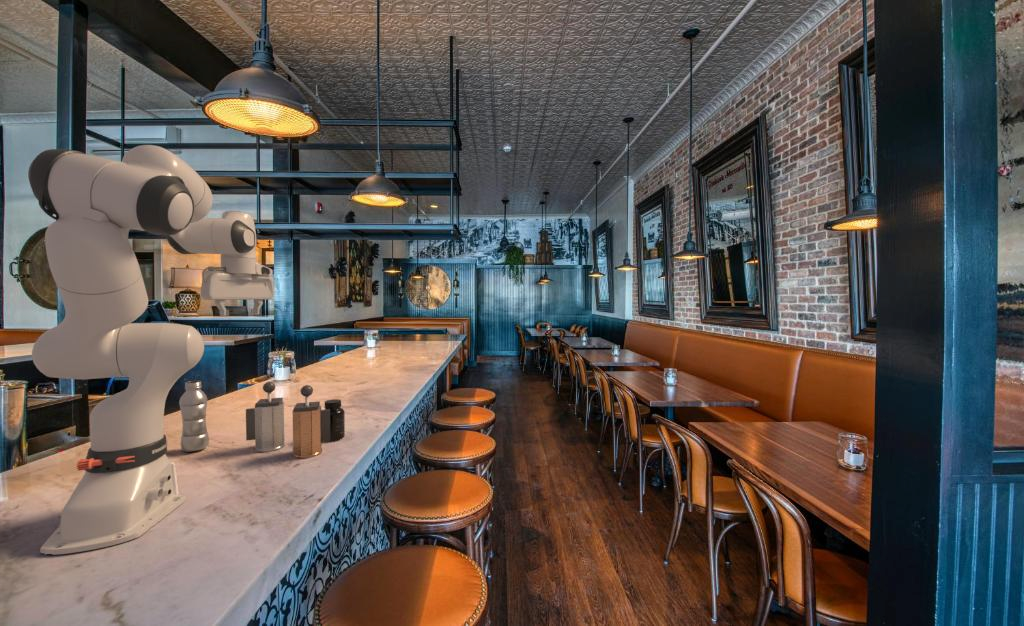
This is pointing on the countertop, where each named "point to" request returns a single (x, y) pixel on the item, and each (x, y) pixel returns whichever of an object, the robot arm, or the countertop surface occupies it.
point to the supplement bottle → (336, 419)
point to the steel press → (266, 424)
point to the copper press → (310, 429)
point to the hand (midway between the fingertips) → (240, 315)
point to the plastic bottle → (193, 418)
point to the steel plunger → (269, 389)
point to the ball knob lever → (306, 393)
